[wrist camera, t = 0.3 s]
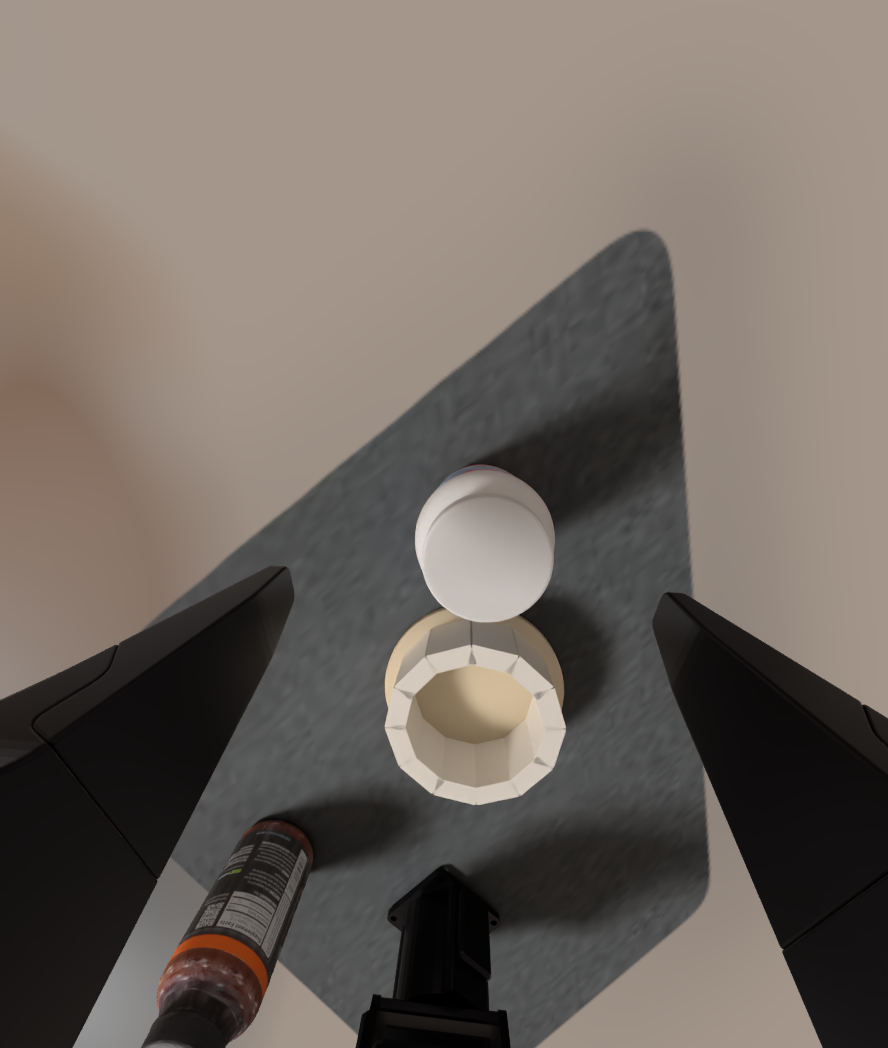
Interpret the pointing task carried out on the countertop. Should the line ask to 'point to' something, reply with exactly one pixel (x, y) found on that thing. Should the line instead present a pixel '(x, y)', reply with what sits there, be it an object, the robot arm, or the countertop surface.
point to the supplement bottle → (233, 941)
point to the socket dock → (474, 706)
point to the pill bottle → (485, 544)
